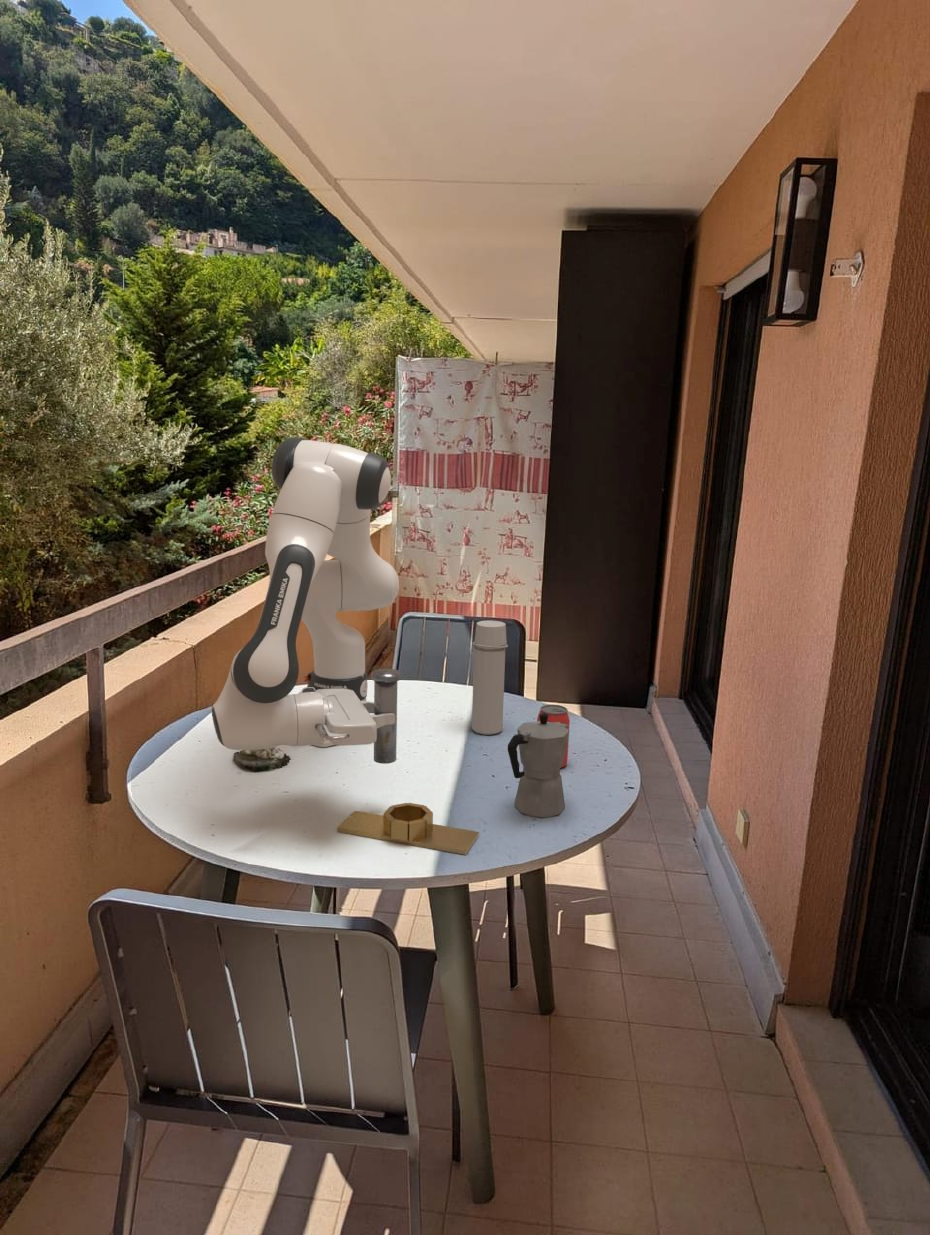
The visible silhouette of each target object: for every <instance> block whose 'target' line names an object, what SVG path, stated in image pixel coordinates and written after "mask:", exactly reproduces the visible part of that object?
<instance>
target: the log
mask: <svg viewBox="0 0 930 1235" xmlns="http://www.w3.org/2000/svg"><path fill="white" fill-rule="evenodd" d="M232 757H233V762H234V763H235V765H237V767H239V768H240V769H241V770H244V771H246V772H247V771H248V772H253V773H260V772H261V773H262V772H270V771H274V770H277V769H282V768H283V767H286V766H288V765H289V763H290V761H291V757H290V755H287V753H285V752H284V750H282V749H281V748H280V747H279V748H276V747H273V748H270V749H260V750H239V751H236V752H234V753H233V756H232Z"/></svg>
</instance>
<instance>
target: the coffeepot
mask: <svg viewBox="0 0 930 1235" xmlns="http://www.w3.org/2000/svg"><path fill="white" fill-rule="evenodd" d="M539 716H540V721H537V720H536V721H531V722H530V721H529V722H528V721H527V722H523V723H522V724H520V726H518V727H517V728H516V732H517V734H514V735H513V736H512V737H511V739H510V741H509V742H508V744H507V752H508V757H509V760H510V761H509V762H510V764H511V768H512V772H513V777H514V778H515V779H519V782H518V786H517V789H516V795H515V799H514V800H515V801H514V807H515V808H516V809H517V811H518V812H520V813H521V814H523V815H526V816H529V817H534V818H540V819H541V818H543V819H544V818H552V817H553V818H554V817H556V816H559V815H560V814H561V813H562V812H563V810H564V809H565V807H566V803H565V795H564V788H563V780H562V778H563V777H562V775H561V773H560V772H561V768H560V767H561V766H562V764H563V760H564V755H565V751H566V746H567V741H568V736H569V737H570V729H569V730H568V729H567V728H566V727H567V726H568V725H566V724H565V723H563V722H561V723H560V722H552V723H551V722H547V720H548V716H549V715H548V714H545V713H543V714H540V715H539ZM517 749H519V756H518V750H517ZM519 757H520V758H519ZM519 760H520V762H519ZM520 763H521V765H523V766H522V771H520Z"/></svg>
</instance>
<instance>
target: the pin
mask: <svg viewBox="0 0 930 1235" xmlns="http://www.w3.org/2000/svg"><path fill="white" fill-rule="evenodd" d="M370 680H372V681H373V682H374V683H373V684H374V685H373V687H374V689H373V690H374V692H373V694H374V695H373V696H374V697H373V698H374V699H373V700H374V701H373V702H374V713H373V714H375V715H380V714H383V712H393V713H394V715H395V723H394V724H388V725H384V726H382V727H379V728H377V738H376V742H374V743H373V762H375V763H377V764H385V765H387V764H392V763H395V762H396V761H397V739H398V738H397V736H398V733H397V732H398V731H397V730H398V727H397V726H398V722H397V721H398V682H399V681H400V680H402V672H401V671H400V670H399V669H395V668H378V669H374V670H371V672H370Z"/></svg>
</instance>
